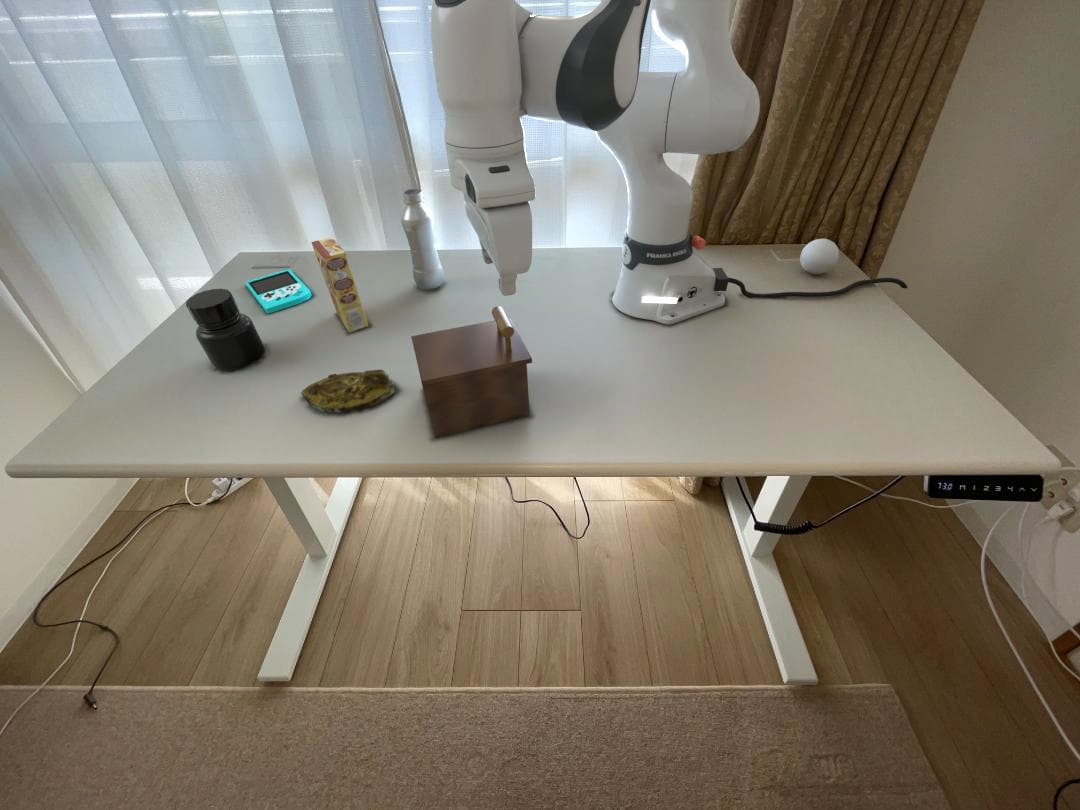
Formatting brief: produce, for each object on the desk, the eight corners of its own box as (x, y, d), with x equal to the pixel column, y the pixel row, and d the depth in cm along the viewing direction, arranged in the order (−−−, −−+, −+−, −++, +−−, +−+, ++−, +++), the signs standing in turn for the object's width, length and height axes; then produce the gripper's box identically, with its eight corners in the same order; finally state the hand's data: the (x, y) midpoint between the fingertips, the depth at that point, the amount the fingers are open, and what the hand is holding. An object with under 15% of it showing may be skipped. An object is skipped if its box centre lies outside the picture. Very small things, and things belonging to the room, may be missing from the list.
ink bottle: (257, 337, 94) (229, 279, 86) (276, 355, 89) (248, 296, 81) (203, 358, 89) (168, 300, 81) (220, 379, 84) (184, 319, 76)
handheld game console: (266, 314, 100) (263, 308, 99) (245, 286, 110) (243, 281, 109) (314, 298, 105) (312, 292, 104) (290, 273, 114) (288, 267, 114)
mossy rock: (298, 422, 77) (395, 411, 78) (286, 402, 73) (387, 391, 74) (309, 380, 83) (398, 371, 84) (298, 360, 80) (392, 350, 81)
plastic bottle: (451, 282, 108) (436, 188, 95) (431, 296, 104) (412, 199, 91) (430, 276, 111) (412, 184, 98) (409, 288, 107) (387, 194, 94)
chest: (510, 372, 83) (505, 322, 77) (529, 415, 75) (526, 364, 69) (424, 390, 80) (412, 340, 74) (434, 438, 72) (422, 386, 65)
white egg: (838, 279, 104) (851, 246, 100) (803, 280, 105) (815, 247, 100) (817, 259, 112) (829, 227, 107) (785, 260, 112) (795, 228, 107)
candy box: (369, 326, 96) (347, 251, 86) (348, 333, 94) (322, 258, 84) (355, 308, 101) (333, 235, 91) (335, 314, 100) (309, 241, 89)
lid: (510, 321, 77) (508, 294, 74) (532, 362, 69) (530, 334, 66) (412, 340, 74) (405, 312, 71) (422, 386, 65) (415, 356, 62)
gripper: (445, 145, 63) (460, 248, 72) (479, 198, 48) (493, 318, 57) (492, 140, 64) (501, 241, 73) (540, 189, 49) (544, 308, 59)
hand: (498, 276), depth 65 cm, fingers open, 8 cm apart
